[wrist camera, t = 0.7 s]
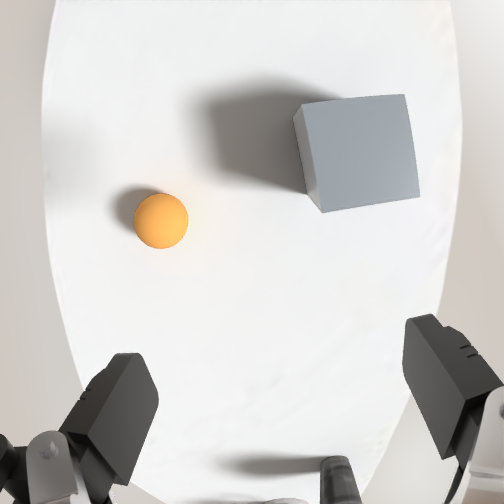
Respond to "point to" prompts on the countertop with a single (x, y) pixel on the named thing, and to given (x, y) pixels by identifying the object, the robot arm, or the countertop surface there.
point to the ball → (161, 221)
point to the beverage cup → (338, 482)
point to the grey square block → (357, 151)
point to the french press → (286, 501)
